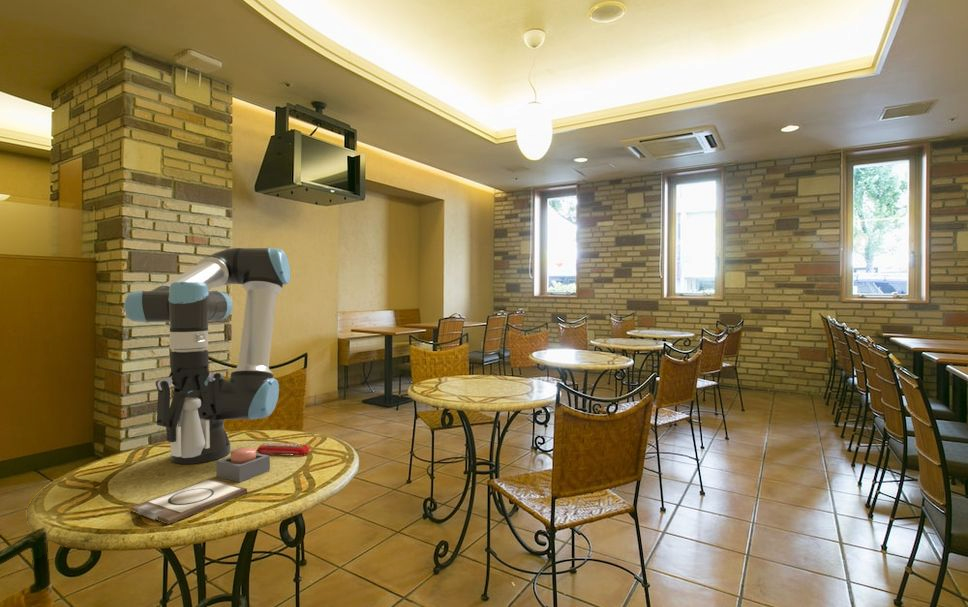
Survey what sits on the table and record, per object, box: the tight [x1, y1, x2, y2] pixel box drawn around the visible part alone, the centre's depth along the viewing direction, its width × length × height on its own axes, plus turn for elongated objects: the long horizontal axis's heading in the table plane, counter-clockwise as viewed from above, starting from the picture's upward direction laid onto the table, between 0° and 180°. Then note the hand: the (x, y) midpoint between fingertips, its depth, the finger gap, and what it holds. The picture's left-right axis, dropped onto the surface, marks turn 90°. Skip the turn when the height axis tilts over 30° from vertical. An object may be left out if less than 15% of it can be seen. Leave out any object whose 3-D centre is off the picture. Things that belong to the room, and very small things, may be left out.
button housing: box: [216, 452, 271, 483], centre depth 128 cm, size 9×9×4 cm
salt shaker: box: [179, 397, 205, 458], centre depth 110 cm, size 6×6×13 cm
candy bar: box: [256, 442, 311, 456], centre depth 144 cm, size 16×4×3 cm, turn 83°
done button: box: [230, 446, 257, 464], centre depth 128 cm, size 6×6×3 cm
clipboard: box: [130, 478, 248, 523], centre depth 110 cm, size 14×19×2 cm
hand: (190, 451), depth 110 cm, fingers closed on salt shaker, 6 cm apart
